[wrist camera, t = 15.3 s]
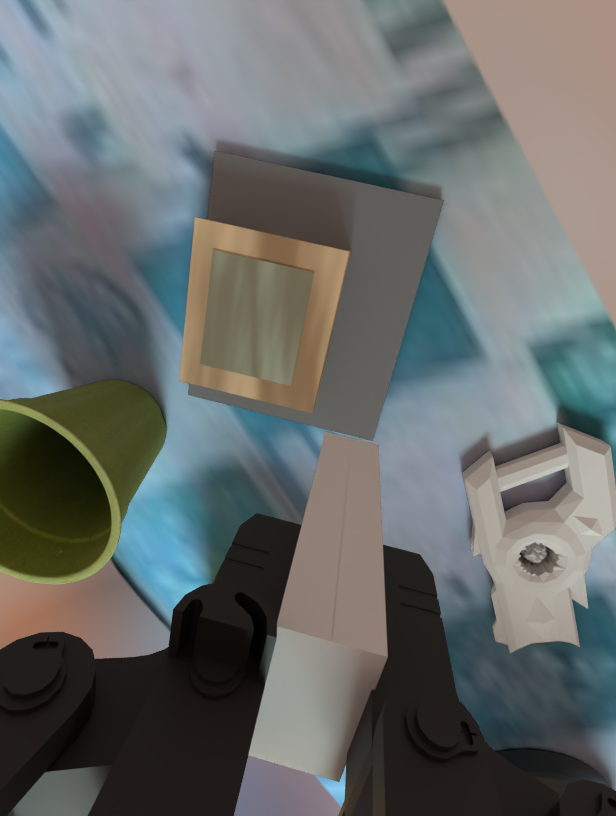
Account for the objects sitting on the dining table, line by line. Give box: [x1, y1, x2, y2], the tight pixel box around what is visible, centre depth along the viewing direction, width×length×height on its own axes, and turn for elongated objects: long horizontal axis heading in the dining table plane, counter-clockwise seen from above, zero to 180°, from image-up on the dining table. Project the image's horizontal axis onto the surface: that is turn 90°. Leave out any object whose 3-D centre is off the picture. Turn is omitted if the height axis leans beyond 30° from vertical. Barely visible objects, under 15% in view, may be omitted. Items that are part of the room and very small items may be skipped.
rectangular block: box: [179, 217, 351, 413], centre depth 27 cm, size 3×10×9 cm
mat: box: [188, 151, 444, 441], centre depth 28 cm, size 16×14×1 cm
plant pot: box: [0, 380, 166, 584], centre depth 29 cm, size 12×12×11 cm
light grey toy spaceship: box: [462, 422, 616, 654], centre depth 31 cm, size 18×3×10 cm
